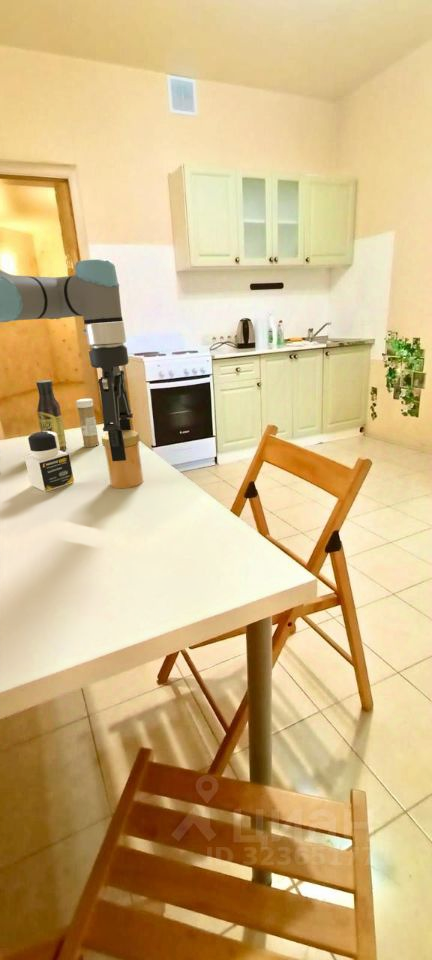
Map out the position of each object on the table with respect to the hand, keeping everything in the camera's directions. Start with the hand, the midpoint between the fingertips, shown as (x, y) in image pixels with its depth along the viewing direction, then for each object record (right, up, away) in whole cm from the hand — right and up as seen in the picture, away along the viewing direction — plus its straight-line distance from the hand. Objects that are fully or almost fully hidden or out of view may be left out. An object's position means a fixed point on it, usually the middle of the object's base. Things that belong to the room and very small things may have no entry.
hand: (123, 453), depth 97 cm
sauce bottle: (-26, +2, +31) cm, 40 cm away
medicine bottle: (-17, -7, +5) cm, 19 cm away
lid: (0, +4, -1) cm, 4 cm away
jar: (0, -6, +2) cm, 7 cm away
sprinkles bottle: (-16, +4, +34) cm, 38 cm away
